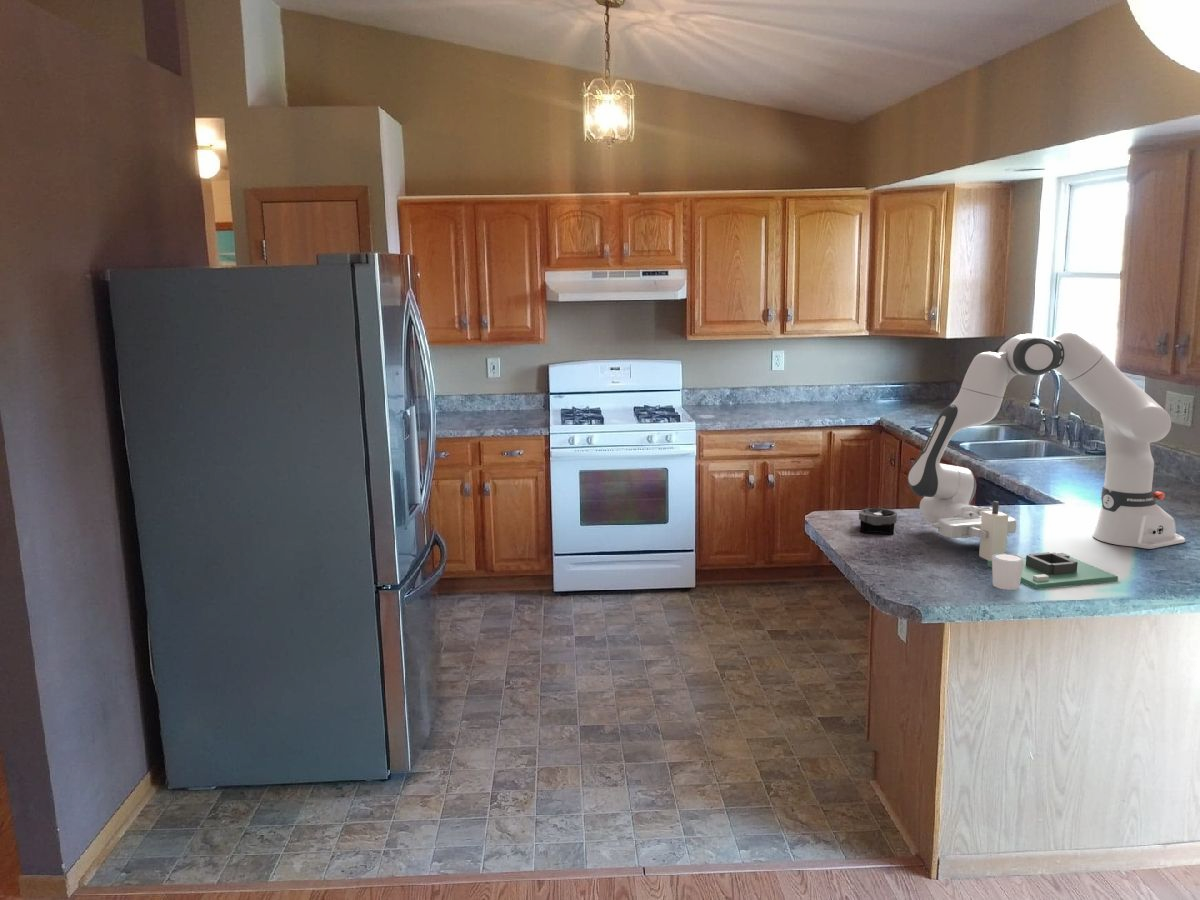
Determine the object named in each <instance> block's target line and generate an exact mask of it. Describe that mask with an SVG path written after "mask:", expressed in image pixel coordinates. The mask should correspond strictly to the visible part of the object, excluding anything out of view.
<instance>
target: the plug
mask: <svg viewBox="0 0 1200 900" xmlns="http://www.w3.org/2000/svg"><path fill="white" fill-rule="evenodd" d="M999 507H1000V502H999V501H998V500H997V501H996V500H994V501H992V507H991V508H992V511H982V519H981V530H986V531H988V532H989V537H988V538H981V537H979V554H978V556H979V558H983V559H985V560H987V561H992V555H994V554H999V553H1007V541H1008V540H1007V537H1008V535H1007V528H1008V516H1009V514H1006V513H1004V512H1002V511H999Z"/></svg>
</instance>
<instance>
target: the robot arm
mask: <svg viewBox="0 0 1200 900" xmlns="http://www.w3.org/2000/svg"><path fill="white" fill-rule="evenodd" d="M1053 370H1055V371H1056V372H1058V373H1059V374H1060V375H1061V377H1063V378H1064V380H1066V382H1067V383H1068V384H1069V385H1070V386H1071V387H1072V388H1073V389H1074V390H1075V391H1076V392H1077V393H1078V394H1079V395H1080V396H1081V397H1082V398H1083V399H1084V400H1085V401H1086V403H1087V404H1089V405H1091V406H1092V407H1093V408H1094V409H1095V410H1096V411H1098V412H1099V414H1100V419H1101V422H1102V425H1103V437H1104V444H1105V456H1106V457H1105V463H1106V464H1105V475H1104V484H1103V486H1102V490H1101V494H1100V499H1101V506H1100V510H1099V515H1098V519H1097V521H1096V522H1097V523H1096V526H1095V528H1094V531H1093V534H1092V536H1093V538H1095V539H1096V540H1099V541H1101V542H1104V543H1108V544H1113V545H1117V546H1125V547H1136V548H1141V549H1147V550H1149V549H1157V548H1158V549H1159V548H1163V547H1168V546H1172V545H1178V544H1184V543H1186V539H1185V537H1184V536H1182V535H1181V534H1178V533H1176V521H1175V519H1174V517H1173V516H1172V515H1170V514H1169V513H1168V512H1166V511H1165V510H1164V509H1163V508H1162V507H1160V506H1159V505H1158V504H1157V501H1156V500H1157V499H1158V500H1160V501H1162V500H1164V498H1165V497H1166V496H1165V495H1166V493H1164V492H1162V491H1153V490H1152V489H1153V481H1154V480H1153V478H1154V469H1155V460H1154V457H1153V455H1152V450H1151V445H1150V444H1151V443H1156V442H1160V441H1161V440H1163V439H1165V437H1167V435H1168V434H1169V433H1170V431H1171V428H1172V419H1171V416H1170V414H1169V413H1168V411H1166V410H1165V408H1163V407H1162V406H1161V405H1160V404H1159V403H1157V401H1156V400H1154V399H1153V398H1152V397H1151V396H1150V395H1149V394H1148V393H1146V392H1145V390H1143V389H1142V388H1141V387H1140V386H1138V384H1136V383H1135V382H1134V381H1133V380H1131V379H1130V378H1129V377H1128V376H1127V375H1126V374H1124V372H1122V371H1121V370H1120V369H1119V367H1117V366H1116V365H1115V363H1113V361H1111V360H1110V358H1109V357H1108V356H1107V355H1106V354H1105V353H1104V352H1103V351H1102V349H1100V348H1099V347H1098V346H1096V345H1095V344H1094V343H1093V342H1092V341H1091V340H1089V339H1088V338H1087V337H1086V336H1084V335H1083V334H1081V333H1080V332H1079V331H1076V330H1074V329H1073V330H1072V329H1066V330H1062V331H1060V332H1058V333H1057V334H1055V335H1054V336H1052V337H1051V338H1050V337H1046V336H1043V335H1037V334H1034V333H1033V334H1032V333H1025V334H1024V333H1023V334H1022V333H1017V334H1014V335H1012V336H1009V337H1008V338H1007V339H1005V340H1004V341H1003V342H1002V343H1001V344H1000V345H999V346H998V347H997V348H996V349H995V350H993V351H984V352H980V353H977V355H975V356H974V358H973V359H972V361H971V363H970V364H969V366H968V368H967V371H966V373H965V374H964V378H963V381H962V383H961V387H960V389H959V392H958V394H957V396H956V397H955V398H954V400H953V401H952V402H951V403H950V404H949V405H946V406H945V407H944V408H943V409H942V410H941V412H940V413H939V415H938V416H937V418H936V420H935V423H934V424H933V427H932V429H931V430H930V433H929V435H928V437H927V439H926V441H925V442H924V445H923V447H922V449H921V451H920V453H919V454H918V457H917V458H916V460H915V462H914V463H913V464H912V466H911V467H910V469H909V471H908V473H907V483H908V486H909V488H910V489H911V491H912V492H913V493H914V494H915V495H916V496H918V497H923V498H921V500H920V503H919V511H920V514H921V515H922V517H923V518H924V519H925V520H926V521H927V523H930V524H931V527H933V528H935V529H937V531H938V533H939V534H941V535H942V536H944V537H946V538H949V539H960V538H961V539H962V538H964V539H966V538H970V537H971V538H972V537H974V538H975V537H977V538H980V537H981V538H988V537H989V532H988V531H986V530H981V519H982V511H992V507H990V506H977V505H972V504H971V502H972V501H973V499H974V497H975V495H976V490H977V481H976V478H975V474H974V473H973V472H972V470H971V469H970V468H968V467H963V466H959V465H954V464H946V463H942V462H941V459H942V457H943V455H944V452H945V451H946V448H947V447H948V445H949V443H950V441H951V439H952V437H953V436H954V435H955V434H957V432H959V431H962V430H964V429H968V428H972V427H977V426H982V425H983V424H986V423H988V422H990V421H993V419H994V418H995V417H996V416H997V415H998V413H999V411H1000V409H1001V406H1002V403H1003V400H1004V395H1005V393H1006V390H1007V386H1009V385H1008V384H1009V383H1010V381H1011V380H1012V379H1013V378H1014V377H1015V376H1017V375H1018V376H1028V377H1038V376H1043V375H1045V374H1047V373H1049V372H1051V371H1053ZM1016 530H1017V519H1015V518H1014V517H1012V516H1010V515H1008V528H1007V536H1009V534H1015V533H1016Z"/></svg>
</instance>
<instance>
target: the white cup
mask: <svg viewBox="0 0 1200 900" xmlns="http://www.w3.org/2000/svg"><path fill="white" fill-rule="evenodd" d="M1024 558H1025V557H1023V556H1020V555H1017V554H1013V553H1007V552H1006V553H999V554H994V555H992V568H991V569H992V572H991V573H992V585H993V587H995V588H997V589H1001V590H1005V591H1006V590H1007V591H1014V590H1015V591H1016V590H1019V589H1020V585H1021V582H1020V580H1021V575H1022V569H1023V564H1024Z"/></svg>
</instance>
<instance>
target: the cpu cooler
mask: <svg viewBox="0 0 1200 900" xmlns="http://www.w3.org/2000/svg"><path fill="white" fill-rule="evenodd" d="M897 519H898V513H897V512H896V511H895V510H892V509H888V508H880V507H879V508H878V507H877V508H864V509H862V510H860V512H858V520H860V530H859V531H860V533H863V532H864V533H863V534H868V535H870V534H871V535H878V536H879V535H883V536H884V535H885V534H886V536H891V535H892V536H893V535H894V533H895V524H897V523H898V520H897Z"/></svg>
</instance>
